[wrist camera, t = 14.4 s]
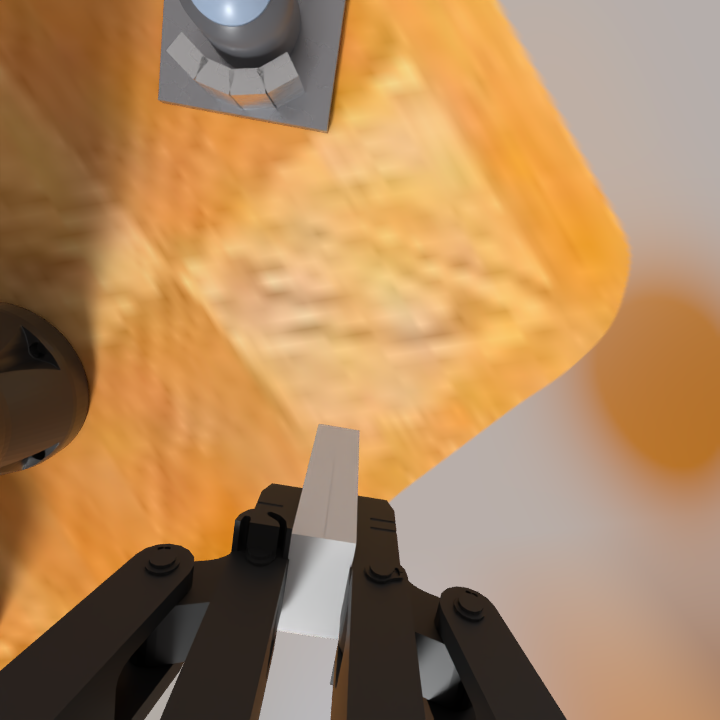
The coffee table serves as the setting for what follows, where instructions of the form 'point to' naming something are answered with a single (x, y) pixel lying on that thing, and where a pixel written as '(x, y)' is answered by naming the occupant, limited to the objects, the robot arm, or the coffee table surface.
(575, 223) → the coffee table surface
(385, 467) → the coffee table surface
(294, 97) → the grey square base
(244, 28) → the grey cylinder
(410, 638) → the robot arm
